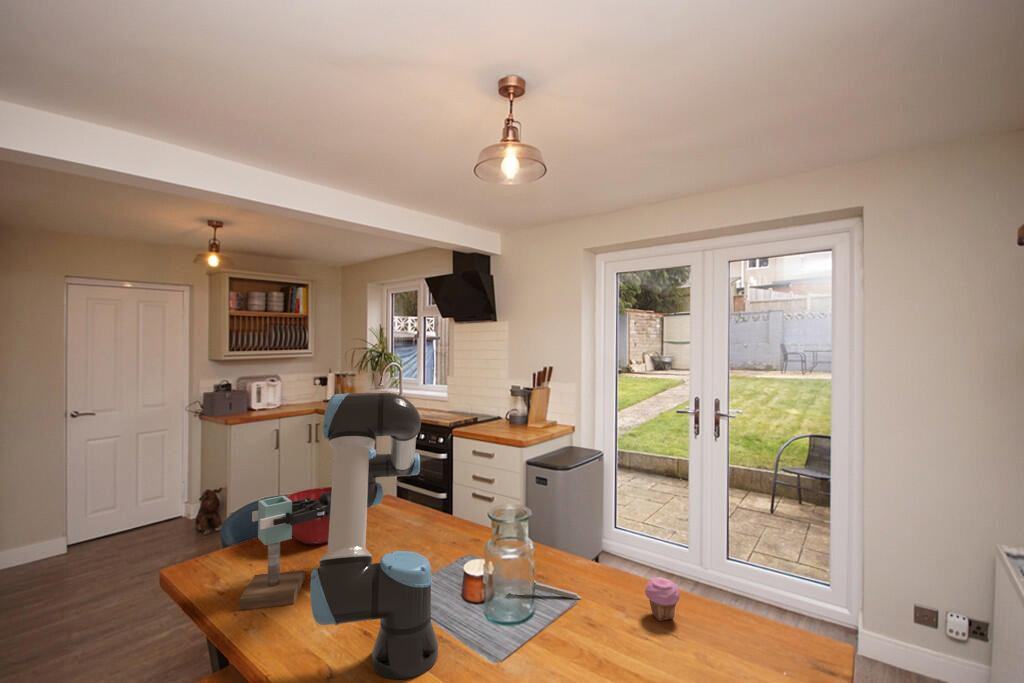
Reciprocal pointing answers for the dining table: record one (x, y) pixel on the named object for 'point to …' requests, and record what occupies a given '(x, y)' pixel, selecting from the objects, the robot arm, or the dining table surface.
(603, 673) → the dining table surface
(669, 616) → the cupcake
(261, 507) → the collar
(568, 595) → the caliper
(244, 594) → the wooden peg stand
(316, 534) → the mixing bowl
